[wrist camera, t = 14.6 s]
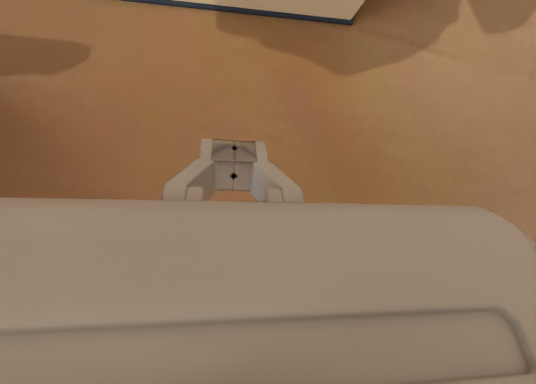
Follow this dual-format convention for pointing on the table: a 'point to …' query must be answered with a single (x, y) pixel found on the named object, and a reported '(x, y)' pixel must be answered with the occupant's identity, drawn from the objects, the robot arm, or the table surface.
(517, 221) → the table surface
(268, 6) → the dictionary
